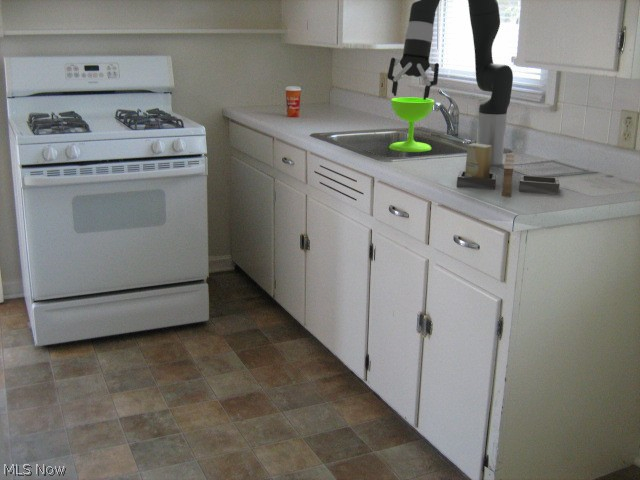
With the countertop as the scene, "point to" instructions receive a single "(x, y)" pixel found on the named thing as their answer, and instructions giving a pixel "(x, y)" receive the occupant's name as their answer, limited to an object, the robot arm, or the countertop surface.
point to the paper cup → (293, 100)
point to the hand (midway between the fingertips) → (409, 97)
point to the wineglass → (411, 121)
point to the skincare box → (478, 160)
